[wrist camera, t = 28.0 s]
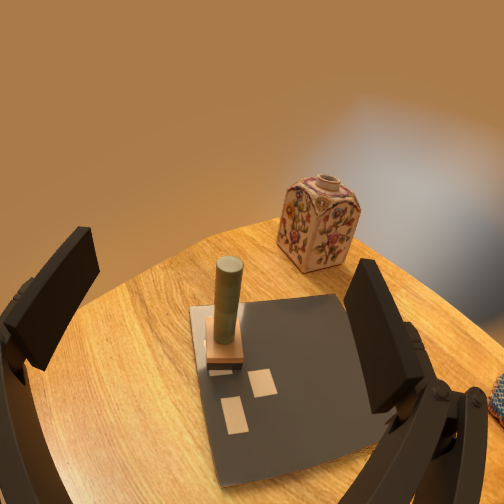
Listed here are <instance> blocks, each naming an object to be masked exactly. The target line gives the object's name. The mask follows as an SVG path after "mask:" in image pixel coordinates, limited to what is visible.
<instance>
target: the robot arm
mask: <svg viewBox="0 0 504 504" xmlns="http://www.w3.org/2000/svg"><path fill="white" fill-rule="evenodd" d="M99 272H100V270H99V265H98V262H97V257H96V252H95V248H94V243H93V238H92V233H91V228H89V227H80V226H79V227H77V228H76V230H75V231H74V232H73V233H72V234H71V235H70V236H69V237H68V238H67V239H66V241H65V242H64V243H63V244H62V245H61V246H60V247H59V249H58V250H57V251H56V252H55V253H54V254H53V256H52V257H51V258H50V259H49V260H48V262H47V263H46V264H45V265H44V267H43V268H42V269H41V270H40V272H39V273H38V274H37V276H36V277H35V278H30V279H29V280H28V281H27V282H25V283H24V284H23V285H22V286H21V288H20V289H19V290H18V292H17V294H16V295H15V296H14V297H13V300H11V301H10V303H9V304H8V306H7V307H6V309H5V310H4V311H3V313H2V314H1V316H0V489H1V491H2V494H3V497H4V499H5V502H6V504H73V503H72V501H71V499H70V497H69V495H68V493H67V491H66V489H65V487H64V485H63V483H62V481H61V478H60V476H59V474H58V472H57V469H56V467H55V464H54V462H53V460H52V457H51V454H50V452H49V449H48V446H47V444H46V441H45V438H44V435H43V432H42V429H41V426H40V422H39V419H38V416H37V412H36V409H35V405H34V401H33V397H32V393H31V388H30V384H29V379H28V374H27V369H26V366H25V364H24V361H25V359H26V358H27V360H28V361H29V363H30V364H31V365H32V366H33V367H35V368H38V369H40V370H43V371H45V370H46V368H47V366H48V364H49V362H50V359H51V357H52V355H53V353H54V351H55V349H56V347H57V345H58V343H59V342H60V340H61V338H62V336H63V334H64V332H65V330H66V328H67V326H68V325H69V323H70V321H71V319H72V317H73V316H74V314H75V312H76V310H77V309H78V307H79V305H80V303H81V302H82V300H83V298H84V297H85V295H86V293H87V292H88V290H89V288H90V287H91V285H92V284H93V282H94V280H95V279H96V277H97V276H98V274H99ZM343 301H344V305H345V308H346V311H347V315H348V318H349V322H350V326H351V329H352V333H353V337H354V340H355V344H356V348H357V352H358V356H359V360H360V364H361V368H362V372H363V376H364V381H365V385H366V389H367V394H368V398H369V403H370V408H371V413H372V414H380V413H387V412H389V411H390V410H391V409H392V408H393V407H394V406H396V410H397V413H395V414H394V415H393V416H392V417H391V418H390V419H388V420H387V421H386V422H385V425H387V424H388V423H390V424H389V425H388V427H387V429H386V431H385V433H384V435H383V436H382V438H381V440H380V442H379V443H378V445H377V447H376V448H375V450H374V452H373V453H372V455H371V456H370V458H369V460H368V461H367V463H366V464H365V466H364V467H363V469H362V470H361V472H360V473H359V475H358V476H357V478H356V479H355V481H354V482H353V484H352V485H351V486H350V488H349V489H348V490H347V492H346V493H345V495H344V496H343V497H342V498H341V500H340V501H339V502H338V504H410V502H411V500H412V498H413V496H414V494H415V497H414V500H413V503H412V504H479V502H480V497H481V491H482V485H483V478H484V471H485V462H486V451H487V432H488V402H487V397H486V395H485V393H484V392H483V391H482V390H481V389H480V388H478V387H471V388H469V389H468V390H467V391H466V392H465V393H461V392H455V391H451V389H450V387H449V386H448V384H446V383H445V382H444V381H442V380H439V379H437V377H436V375H435V372H434V370H433V367H432V364H431V362H430V359H429V357H428V354H427V352H426V350H425V347H424V345H423V342H421V341H422V340H421V338H420V335H419V333H418V331H417V330H416V328H415V327H414V326H413V325H412V324H411V322H403V320H402V317H401V315H400V313H399V311H398V308H397V306H396V304H395V302H394V300H393V297H392V295H391V293H390V291H389V289H388V287H387V285H386V282H385V280H384V278H383V276H382V274H381V272H380V270H379V268H378V266H377V264H376V262H375V260H371V259H363V258H361V259H360V261H359V264H358V266H357V269H356V271H355V274H354V276H353V278H352V281H351V283H350V286H349V288H348V290H347V293H346V295H345V297H344V300H343ZM456 432H457V438H456ZM415 492H416V493H415ZM0 504H1V500H0Z"/></svg>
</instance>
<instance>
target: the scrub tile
mask: <svg viewBox="0 0 504 504" xmlns="http://www.w3.org/2000/svg"><path fill="white" fill-rule="evenodd" d="M189 314H190V322H191V331H192V339H193V346H194V354H195V361H196V368H197V375H198V381H199V388H200V394H201V400H202V406H203V411H204V417H205V422H206V428H207V433H208V438H209V443H210V448H211V452H212V457H213V462H214V466H215V471H216V475H217V479H218V484H219V487H220V488H224V487H231V486H238V485H244V484H250V483H255V482H260V481H265V480H269V479H274V478H278V477H282V476H286V475H290V474H294V473H297V472H301V471H304V470H308V469H311V468H314V467H317V466H320V465H323V464H326V463H329V462H332V461H335V460H338V459H341V458H343V457H346V456H348V455H351V454H354V453H356V452H358V451H361V450H363V449H366V448H368V447H370V446H373V445H375V444H377V443H379V442H380V440H381V438H382V436H383V435H384V433H385V431H386V429H387V427H388V425H389V424H390V423H388V424H387V425H385V422H386V421H387V420H388V419H390V418H391V417H392V416H393V415H394V414H395V413H397V410H396V406H394V407H393V408H392V409H391V410H390V411H389V412H387V413H380V414H372V413H371V408H370V403H369V398H368V394H367V389H366V385H365V381H364V376H363V372H362V368H361V364H360V360H359V356H358V352H357V348H356V344H355V340H354V337H353V333H352V329H351V326H350V322H349V318H348V315H347V312H346V310H345V309H344V307H343V306H342V304H341V302H340V301H339V299H338V297H337V296H336V294H326V295H318V296H309V297H300V298H290V299H280V300H269V301H258V302H246V303H239V305H238V313H237V317H239V324H240V332H241V340H242V348H243V355H244V359H243V365H242V370H207V364H206V317H214V305H205V306H189Z"/></svg>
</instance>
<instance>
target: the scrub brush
mask: <svg viewBox="0 0 504 504" xmlns="http://www.w3.org/2000/svg"><path fill="white" fill-rule="evenodd" d="M243 266H244V265H243V262H242V261H241V260H240V259H239V258H237V257H234V256H224V257H221V258H219V259H218V260H217V263H216V279H215V299H214V317H206V364H207V370H242V365H243V359H244V355H243V348H242V340H241V332H240V324H239V317H237V313H238V305H239V297H240V289H241V281H242V274H243Z"/></svg>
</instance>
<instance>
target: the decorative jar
mask: <svg viewBox="0 0 504 504" xmlns="http://www.w3.org/2000/svg"><path fill="white" fill-rule="evenodd" d="M340 182H341V181H340V180H339V179H338V178H336V177H334V176H331V175H327V174H319V175H318V176H317V178H314V177H313V178H312V177H305V178H303V179H301V180H300V181H298V182H296V183H294V184H293V185H292V186H290V187H289V188H288V189H287V191H286V196H285V200H284V205H283V210H282V214H281V219H280V224H279V230H278V236H277V244H278V245H279V246H280V247H281V248H282V250H283V251H284V252H285V253H286V254H287V255H288V256H289V258H290V259H291V260H292V261H293V262H294V263H295V264H296V266H297V267H298V268H299V269H300V270H301V271H302V272H303V273H305V272H309V271H314V270H319V269H323V268H327V267H331V266H335V265H339V264H342V263H343V262H344V261H345V258H346V256H347V253H348V251H349V248H350V245H351V242H352V239H353V235H354V233H355V230H356V227H357V223H358V220H359V217H360V213H361V208H360V206H359V203H358V201H357V199H356V196H355V194H354V192H353V191H351V190H350V189H348V188H347V187H345V186H344V185H342V184H340Z"/></svg>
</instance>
